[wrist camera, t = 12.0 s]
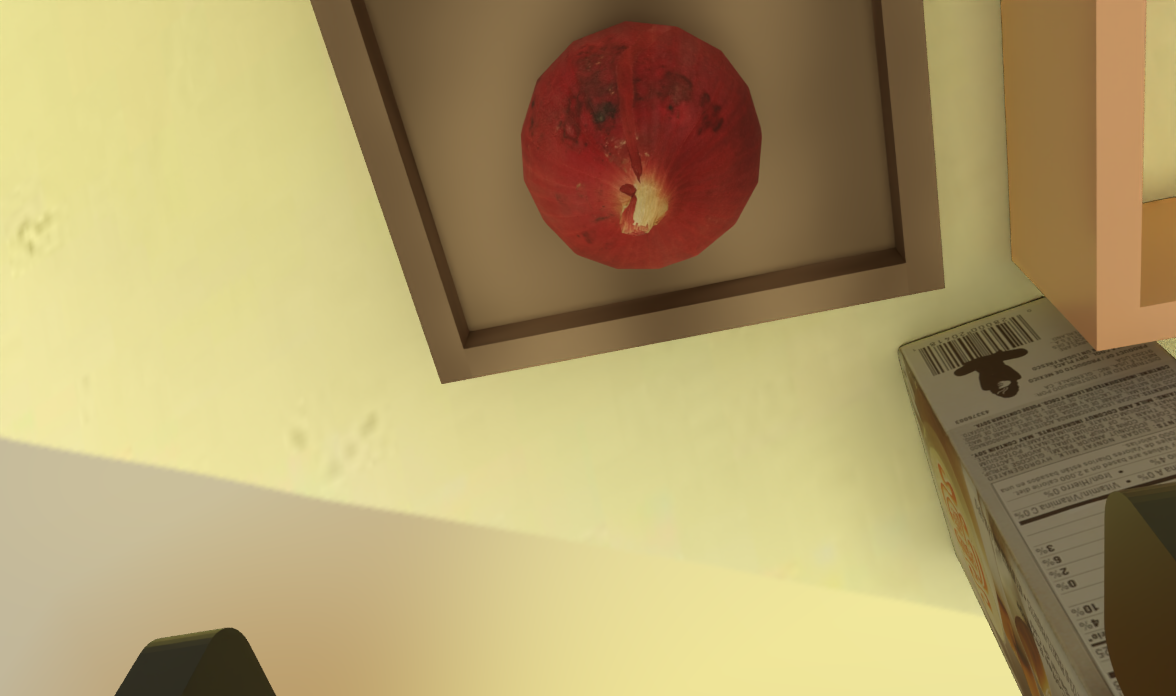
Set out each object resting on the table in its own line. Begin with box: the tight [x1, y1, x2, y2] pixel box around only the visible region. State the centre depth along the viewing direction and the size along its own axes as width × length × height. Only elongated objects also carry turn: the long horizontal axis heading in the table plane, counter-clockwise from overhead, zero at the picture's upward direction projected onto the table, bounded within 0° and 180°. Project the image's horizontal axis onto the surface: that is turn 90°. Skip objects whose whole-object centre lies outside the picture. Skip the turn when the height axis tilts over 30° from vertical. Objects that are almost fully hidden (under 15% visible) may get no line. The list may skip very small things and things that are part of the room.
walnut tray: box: [310, 0, 945, 384], centre depth 27 cm, size 15×13×2 cm
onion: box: [521, 21, 762, 269], centre depth 23 cm, size 6×6×8 cm
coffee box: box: [898, 297, 1176, 696], centre depth 25 cm, size 9×6×16 cm
